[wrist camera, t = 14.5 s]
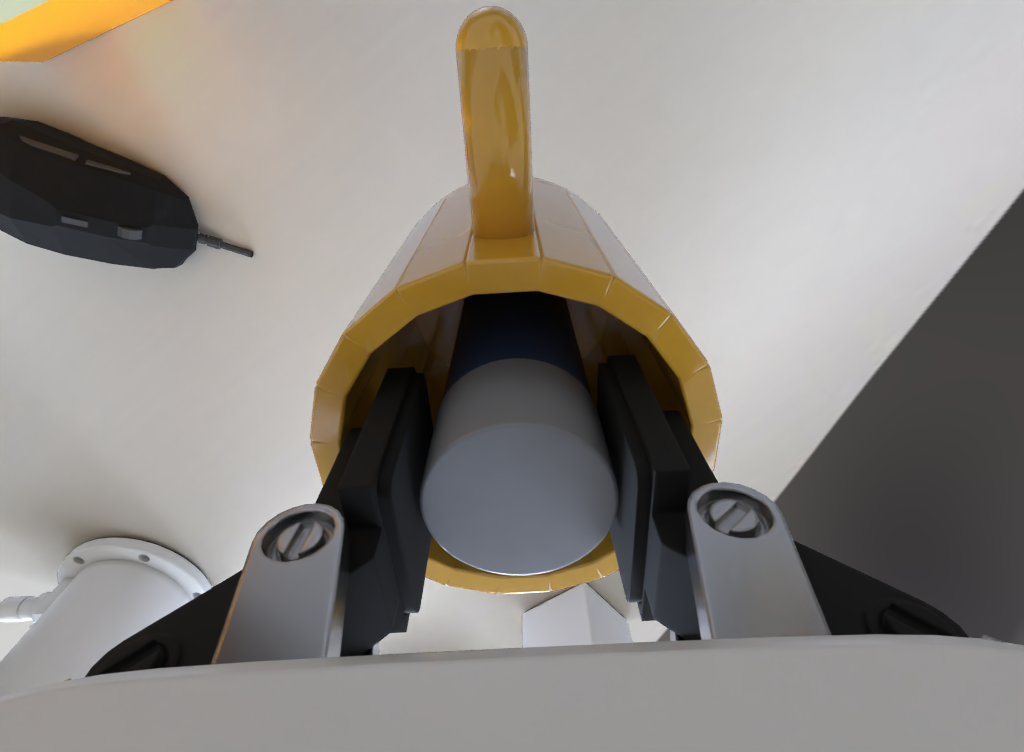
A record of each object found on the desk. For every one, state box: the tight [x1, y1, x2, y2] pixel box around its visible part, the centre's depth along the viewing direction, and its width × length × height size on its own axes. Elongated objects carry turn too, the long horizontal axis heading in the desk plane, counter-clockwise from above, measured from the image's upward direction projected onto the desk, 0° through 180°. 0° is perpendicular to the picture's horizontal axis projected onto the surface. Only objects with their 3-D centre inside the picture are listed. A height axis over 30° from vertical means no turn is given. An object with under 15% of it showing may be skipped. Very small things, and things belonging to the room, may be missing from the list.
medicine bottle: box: [522, 583, 632, 648], centre depth 43 cm, size 7×7×12 cm
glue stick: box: [420, 291, 619, 575], centre depth 14 cm, size 4×4×10 cm
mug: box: [310, 6, 722, 594], centre depth 14 cm, size 12×8×10 cm
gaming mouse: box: [0, 117, 253, 269], centre depth 29 cm, size 6×15×4 cm, turn 68°
